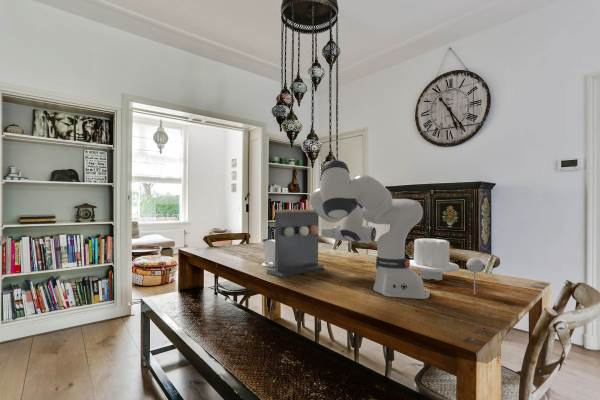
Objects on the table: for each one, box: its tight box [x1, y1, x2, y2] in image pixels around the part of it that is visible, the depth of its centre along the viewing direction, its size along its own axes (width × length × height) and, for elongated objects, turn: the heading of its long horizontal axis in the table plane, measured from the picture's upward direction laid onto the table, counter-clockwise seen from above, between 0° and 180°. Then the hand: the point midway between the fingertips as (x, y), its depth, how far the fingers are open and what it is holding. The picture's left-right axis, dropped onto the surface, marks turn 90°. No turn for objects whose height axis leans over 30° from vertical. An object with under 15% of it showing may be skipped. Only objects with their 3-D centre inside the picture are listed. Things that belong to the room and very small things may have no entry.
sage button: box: [283, 227, 294, 237], centre depth 157 cm, size 3×5×5 cm, turn 137°
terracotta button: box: [309, 225, 320, 234], centre depth 172 cm, size 3×5×5 cm, turn 137°
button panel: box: [266, 209, 324, 278], centre depth 167 cm, size 12×32×33 cm, turn 137°
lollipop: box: [466, 257, 484, 295], centre depth 126 cm, size 6×6×15 cm
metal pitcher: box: [261, 238, 275, 268], centre depth 182 cm, size 12×11×15 cm
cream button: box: [299, 226, 309, 236], centre depth 163 cm, size 3×5×5 cm, turn 137°
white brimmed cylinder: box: [409, 238, 460, 281], centre depth 155 cm, size 25×25×19 cm
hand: (325, 230), depth 167 cm, fingers closed
